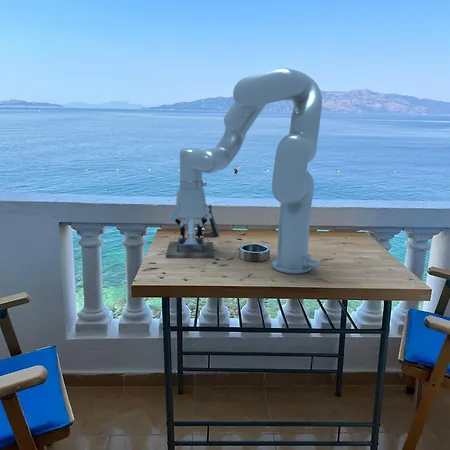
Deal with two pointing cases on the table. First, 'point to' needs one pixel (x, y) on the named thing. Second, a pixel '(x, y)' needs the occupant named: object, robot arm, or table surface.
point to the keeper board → (190, 249)
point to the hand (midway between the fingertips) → (191, 236)
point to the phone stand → (213, 225)
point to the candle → (191, 232)
